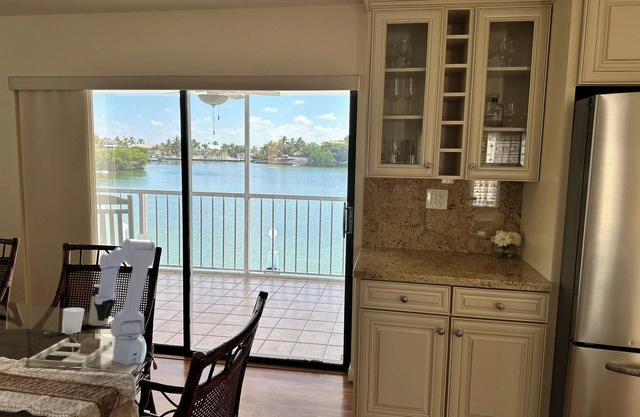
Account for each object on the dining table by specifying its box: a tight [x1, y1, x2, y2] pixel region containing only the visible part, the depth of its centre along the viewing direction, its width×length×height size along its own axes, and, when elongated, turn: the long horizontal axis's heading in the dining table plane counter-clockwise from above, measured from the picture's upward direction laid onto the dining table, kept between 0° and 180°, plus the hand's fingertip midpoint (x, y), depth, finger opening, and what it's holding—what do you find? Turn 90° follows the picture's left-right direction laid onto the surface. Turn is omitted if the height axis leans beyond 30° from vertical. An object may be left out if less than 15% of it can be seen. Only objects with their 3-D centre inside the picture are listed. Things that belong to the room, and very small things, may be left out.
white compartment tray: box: [25, 337, 113, 368], centre depth 153 cm, size 27×17×3 cm, turn 6°
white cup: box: [61, 307, 85, 335], centre depth 183 cm, size 8×8×10 cm
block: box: [79, 337, 101, 353], centre depth 159 cm, size 5×5×4 cm
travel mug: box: [88, 283, 109, 327], centre depth 201 cm, size 8×8×18 cm
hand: (103, 319), depth 170 cm, fingers open, 4 cm apart
